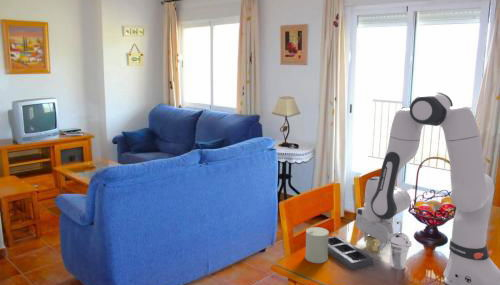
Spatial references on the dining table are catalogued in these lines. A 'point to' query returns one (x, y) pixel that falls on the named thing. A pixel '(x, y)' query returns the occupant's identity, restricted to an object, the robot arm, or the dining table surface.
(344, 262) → the grey compartment tray
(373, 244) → the pale yellow upright block
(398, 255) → the cup with straw
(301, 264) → the dining table surface
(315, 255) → the can
